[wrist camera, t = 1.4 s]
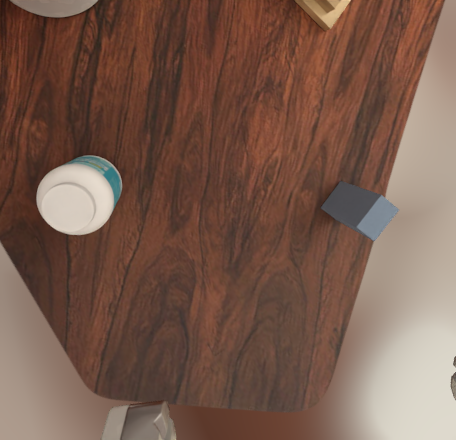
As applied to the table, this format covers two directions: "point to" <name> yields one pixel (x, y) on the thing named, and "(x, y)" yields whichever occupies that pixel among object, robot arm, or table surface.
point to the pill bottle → (79, 195)
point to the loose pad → (360, 209)
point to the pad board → (323, 11)
